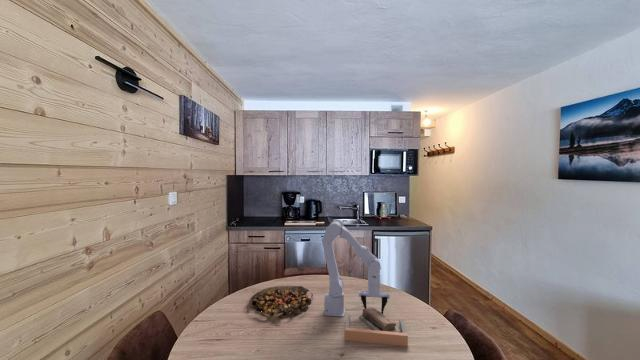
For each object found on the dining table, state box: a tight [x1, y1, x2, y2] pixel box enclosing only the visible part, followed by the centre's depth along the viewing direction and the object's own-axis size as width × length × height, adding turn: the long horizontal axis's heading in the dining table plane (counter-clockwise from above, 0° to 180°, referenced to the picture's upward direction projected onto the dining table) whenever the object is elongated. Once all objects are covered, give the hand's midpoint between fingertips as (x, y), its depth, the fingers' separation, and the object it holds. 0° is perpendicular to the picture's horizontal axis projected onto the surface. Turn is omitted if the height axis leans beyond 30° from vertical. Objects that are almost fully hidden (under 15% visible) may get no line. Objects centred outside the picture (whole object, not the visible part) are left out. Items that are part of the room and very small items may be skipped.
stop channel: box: [344, 314, 409, 347], centre depth 115 cm, size 24×16×4 cm, turn 80°
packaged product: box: [358, 306, 401, 333], centre depth 120 cm, size 18×5×10 cm
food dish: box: [248, 285, 314, 321], centre depth 141 cm, size 35×33×8 cm
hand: (374, 312), depth 129 cm, fingers open, 7 cm apart
